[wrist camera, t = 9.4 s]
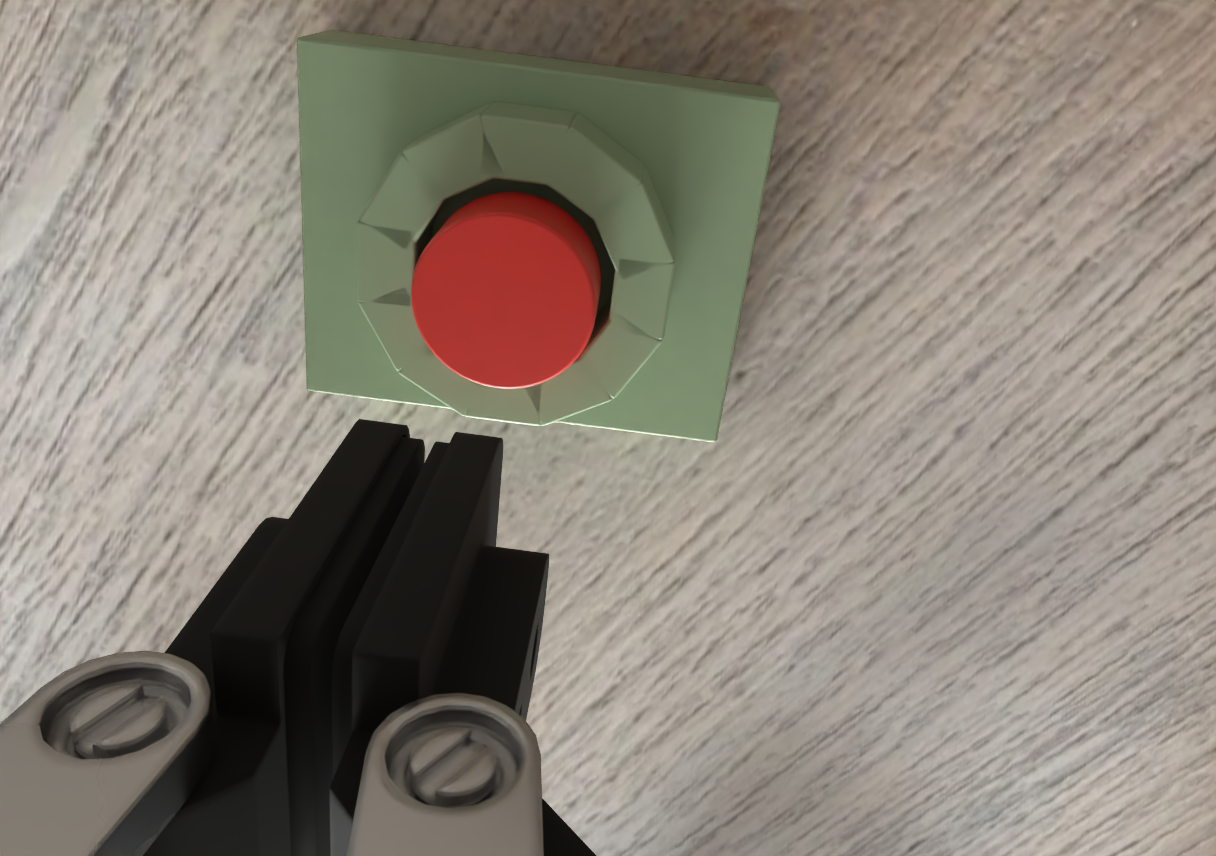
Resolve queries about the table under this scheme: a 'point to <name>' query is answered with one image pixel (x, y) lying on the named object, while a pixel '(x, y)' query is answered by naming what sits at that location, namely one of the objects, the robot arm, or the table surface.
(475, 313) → the button
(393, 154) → the button block
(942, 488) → the table surface
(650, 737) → the table surface
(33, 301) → the table surface
